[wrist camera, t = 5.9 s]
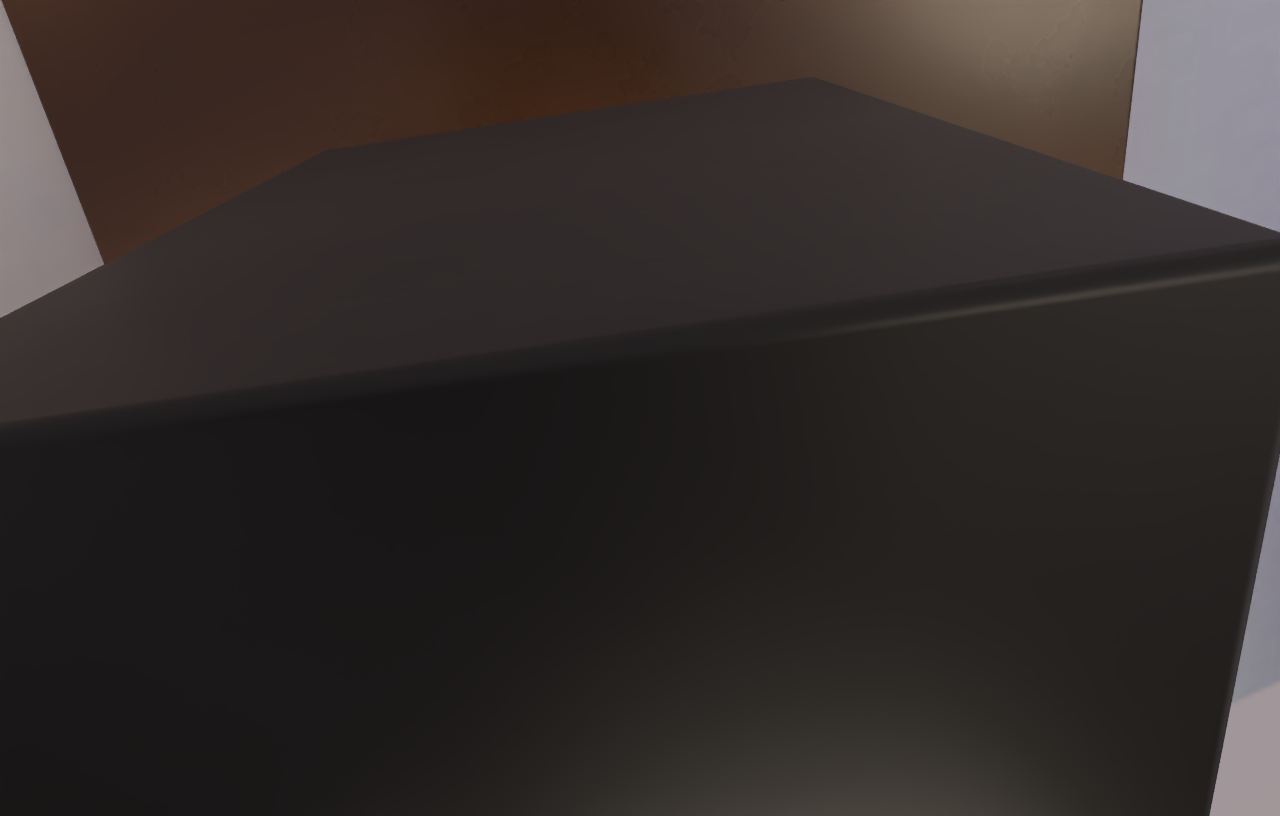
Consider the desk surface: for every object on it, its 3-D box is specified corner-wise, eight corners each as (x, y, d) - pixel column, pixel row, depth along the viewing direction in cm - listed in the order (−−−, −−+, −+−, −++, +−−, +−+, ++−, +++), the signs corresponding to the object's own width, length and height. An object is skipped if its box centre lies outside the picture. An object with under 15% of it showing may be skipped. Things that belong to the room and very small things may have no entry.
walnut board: (1052, 624, 23) (1071, 650, 22) (301, 714, 23) (289, 743, 22) (1133, -190, 15) (1168, -203, 14) (19, -40, 16) (-18, -43, 15)
